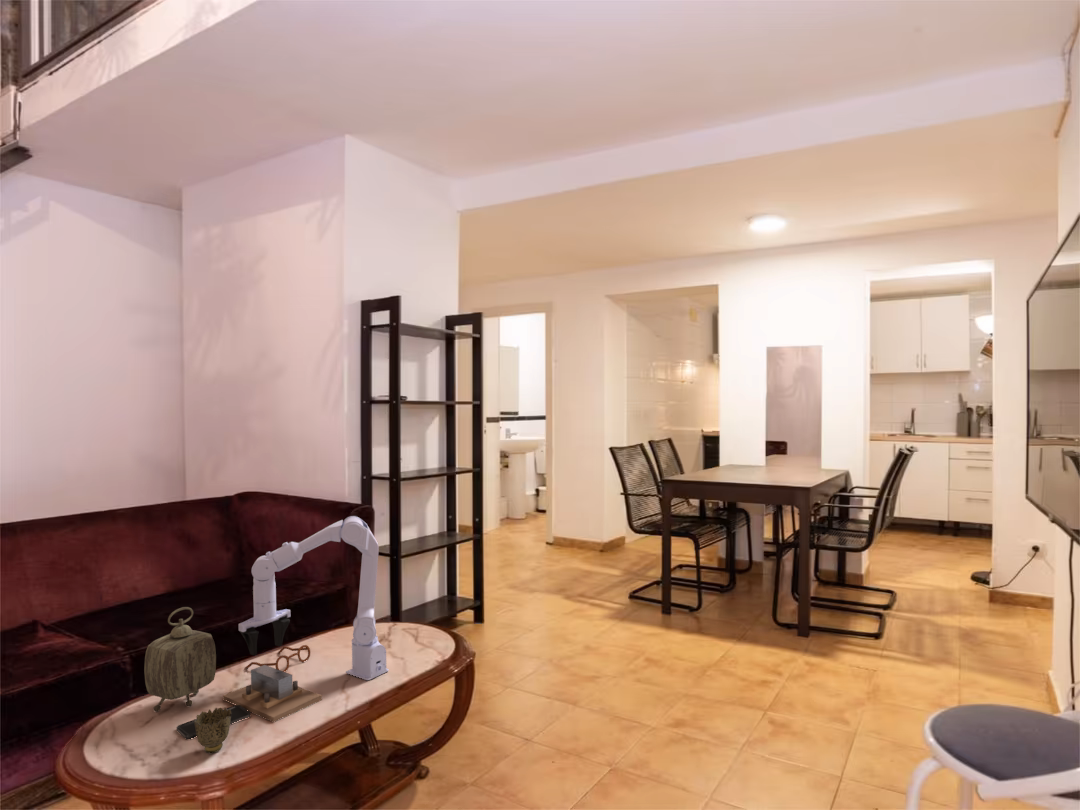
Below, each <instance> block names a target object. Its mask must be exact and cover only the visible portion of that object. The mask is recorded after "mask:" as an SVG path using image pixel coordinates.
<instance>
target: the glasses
mask: <svg viewBox="0 0 1080 810" xmlns="http://www.w3.org/2000/svg"><path fill="white" fill-rule="evenodd" d="M284 650H289V651H291V652H294V653H292V654H290V655H289V656H287V655H280V656H279V657H277V659H276V661H275V662H269V663H268V662H267V663H259V662H257V661H251V662H250V663H249V664H248V665H247V666H245V667H244V669H245V668H247V669H248V668H251V666H252V665H256V666H257V667H260V666H263V665H267V666H269V667H272V666H275V669H278V670H280V668H279V661H280V660H281V659H282V658H284V659H285V660H286V665H285V669H283V670H282V671H283V672H284V671H286V670H287V671H288V670H289V668H290V659H291V658H293V657H295V656H297V659H298V661H299V662H300V663H305V662H304V661H306V660H307V661H308V660H309V659H310V657H311V649H310V647H309V645H307V644H303V645H301V646H300V647H295V648H293V647H290V646H283V647H282V648H281V649H280V650H278V652H277V654H281V653H283V651H284ZM295 651H296V652H295ZM301 651H307V657H306V658H305V659H302V657H301V654H300V652H301ZM307 661H306V662H307ZM287 671H286V672H287Z"/></svg>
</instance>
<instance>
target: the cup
mask: <svg viewBox="0 0 1080 810" xmlns="http://www.w3.org/2000/svg"><path fill="white" fill-rule="evenodd" d="M195 718H196V719H197V720H195ZM195 718H194V719H193V720H194V723H195V729H196V735H197V737H196V739H197V741H198V743H199V745H201V746H202V747H204V748H203V749H204V751H205V753H207V754H215V753H217V752H219V751H221V750H222V748H223V746H224V745H223V743H224V742H225V741H226V740H227V738H228V735H229V734H230V733H229V732H230V726H231V725H230V719H231V710H230V709H229V710H228V711H227V709H226V707H224V708H222V707H219V708H217V707H215V708H214V709H213V711H212V710H211V709H208V711H201V712H200V713H199V714H196V716H195Z"/></svg>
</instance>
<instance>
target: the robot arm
mask: <svg viewBox="0 0 1080 810" xmlns="http://www.w3.org/2000/svg"><path fill="white" fill-rule="evenodd" d="M341 540H342V541H343V542H345V543H346V544H348V545H351V546H353V547H355V548H356V549H357V550H358V551H359V552H360V553H361V554H362V555H361V564H360V565H361V566H360V579H359V590H358V591H359V592H358V605H357V611H356V612H357V613H356V616H355V617H354V619H353V622H352V627H353V631H352V639H351V667H352V668H351V669H349V670H346V671H345V674H346V673H347V675H349V674H350V676H352V675H353V676H354V677H355V676H356V678H358V677H359V679H361V678H362V680H365V681H370V680H372V679H375V678H377V677H378V676H380V675H383V674H384V673H385V674H386V673H387V672H389V670H390V669H389V668H387V649H386V647H385V646H384V645H383V644H381V643H380V641H379V639H378V638H379V637H378V635H377V628H376V624H377V623H376V618H375V601H376V588H377V577H378V576H377V575H378V566H379V565H378V563H379V549H380V547H379V543H378V541H377V539H376V537H375V535H374V534H373V532H372V531H371V528H370V527H369V526H368V523H366V522H365V521H364V520H363V519H362V518H360V517H358V516H357V515H350V516H347V517H346V518H345V519H344V520H343V519H341V520H338V521H336V522H334V523H332V524H330V525H328V526H326V527H324V528H323V529H321V530H319V531H317V532H316V533H314V534H312V535H310V536H309V537H307V538H305V539H303V540H302V541H299V542H296V541H289V542H288V541H286V542H283V543H282V545H281V547H278V548H277V549H275V550H273V551H266V553H265V555H261V556H259V557H258V558H257V559H256V560H255V561H254V563H253V565H252V567H251V575H252V577H253V581H252V582H253V586H252V590H253V591H252V595H253V597H252V598H253V599H252V600H253V617H251V618H249V619H247V620H245V621H243V622H240V623H238V631H239V632H240V634H241V636H242V637H243V639H244V641H245V644H246V645H247V648H248V651H249V655H251V656H254V657H255V656H257V654H258V639H259V638H258V637H259V633H260V631H259V630H256V628H257V627H261V626H263V625H266V624H269V623H271V624H272V627H273V628H272V629H273V634H274V636H273V637H274V645H275V646H277V647H282V646H283V640H284V637H285V634H286V630H287V629H288V627H289V626H290V621H291V620H290V618H291V609H287V608H285V609H280V610H277V588H276V587H277V585H276V579H275V578H276V576H275V572H281V571H283V570H284V569H287V568H288V567H290V566H292V565H295V564H297V562H299V561H301V560H302V559H303V556H304V554H305V553H307V552H310V551H311V550H314V549H316V548H317V547H319V546H322V545H324V544H326V543H328V542H336V543H337V542H338V543H341Z"/></svg>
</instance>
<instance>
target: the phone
mask: <svg viewBox="0 0 1080 810" xmlns="http://www.w3.org/2000/svg"><path fill="white" fill-rule="evenodd" d="M225 708H226V707H225ZM226 709H227V711H228V710H229V709H230V710H231V719H230V724H231V725H233V724H232V723H234V722H237V721H239V720H242V719H245V718H248V717H249V718H251V716H250V715H251V712H249V711H247V710H246V709H245V708H243V707H242V706H240V705H233V706H229V707H227V708H226ZM249 718H248V719H249ZM194 719H195V718H194ZM194 719H192V720H190V721H187V722H186V721H185V722H184V723H181V724H178V725H177V726H176V732H177V731H178V732H179V733H180V734H181V735H180V734H179V733H178V732H177V733H178V734H179V735H180V736H182V737H183V738H184V739H185V738H186V739H185V740H187V739H190V740H192V739H191V738H193V739H195V738H194V737H196V736H197V735H196V729H195V723H194ZM195 720H197V718H196V719H195ZM245 720H246V719H245ZM242 721H243V720H242ZM239 722H240V721H239ZM237 723H238V722H237ZM234 724H235V723H234ZM196 738H197V737H196Z"/></svg>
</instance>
